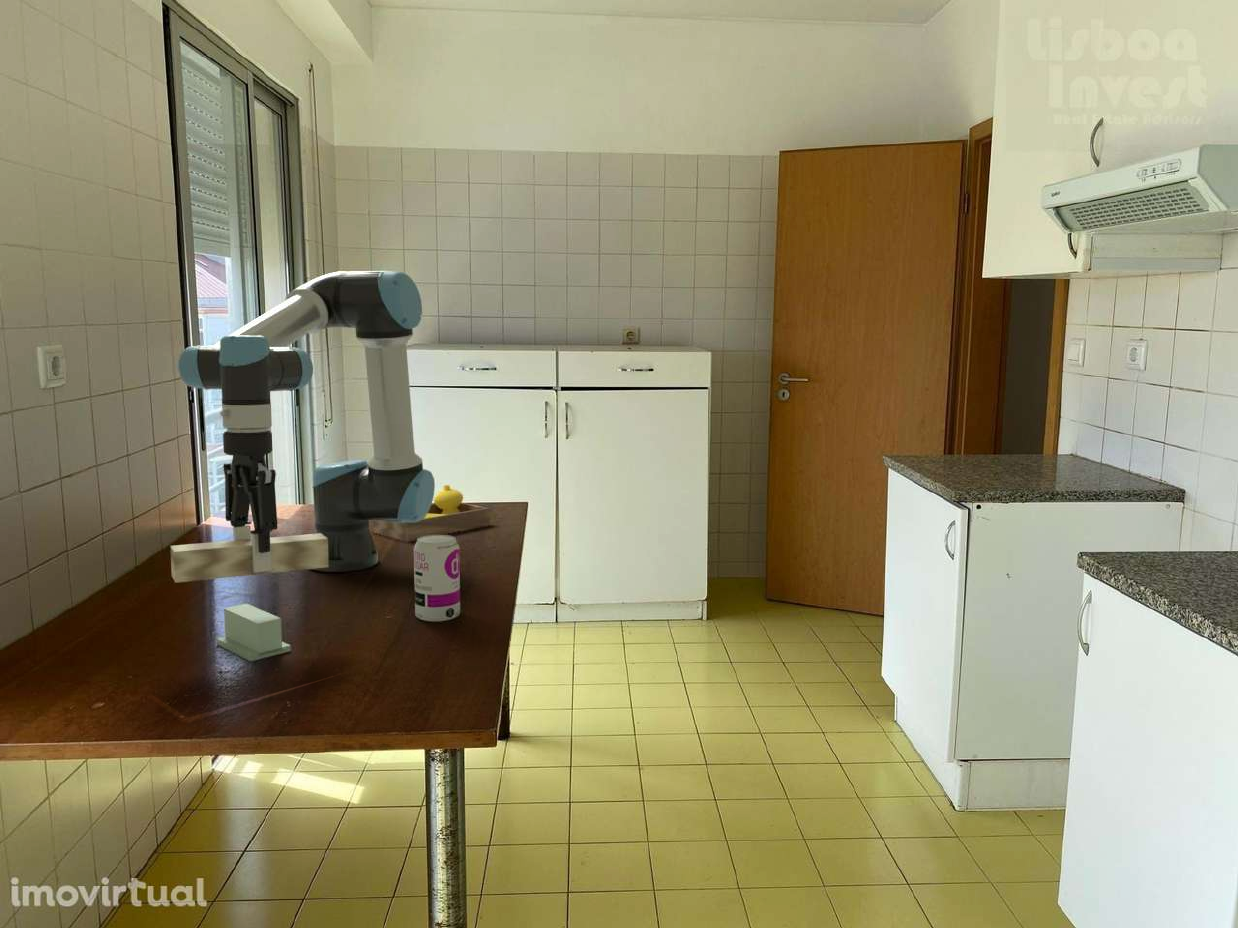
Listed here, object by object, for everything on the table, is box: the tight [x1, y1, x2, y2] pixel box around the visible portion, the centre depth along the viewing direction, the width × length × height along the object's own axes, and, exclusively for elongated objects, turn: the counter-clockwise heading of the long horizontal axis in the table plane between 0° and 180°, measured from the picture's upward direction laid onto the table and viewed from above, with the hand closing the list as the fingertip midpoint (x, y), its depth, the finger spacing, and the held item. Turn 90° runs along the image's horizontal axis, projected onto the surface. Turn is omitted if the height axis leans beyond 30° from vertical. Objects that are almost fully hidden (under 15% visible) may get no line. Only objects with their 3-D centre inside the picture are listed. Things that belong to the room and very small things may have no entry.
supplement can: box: [413, 534, 461, 622], centre depth 179 cm, size 8×8×15 cm
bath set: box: [423, 484, 464, 519], centre depth 255 cm, size 20×10×11 cm, turn 145°
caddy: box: [370, 502, 491, 543], centre depth 252 cm, size 16×26×6 cm, turn 137°
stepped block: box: [216, 603, 292, 662], centre depth 161 cm, size 12×7×6 cm, turn 47°
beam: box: [170, 533, 328, 584], centre depth 161 cm, size 24×5×5 cm, turn 121°
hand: (252, 567), depth 161 cm, fingers closed on beam, 6 cm apart
